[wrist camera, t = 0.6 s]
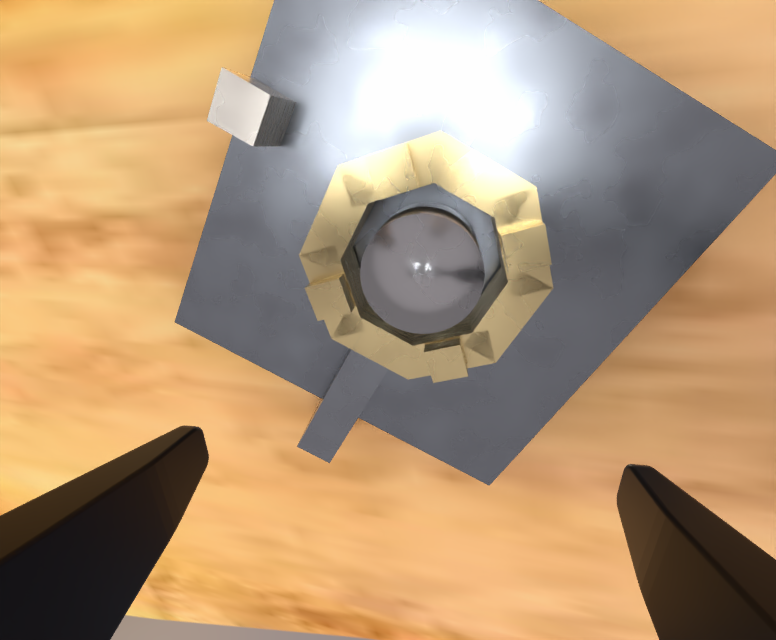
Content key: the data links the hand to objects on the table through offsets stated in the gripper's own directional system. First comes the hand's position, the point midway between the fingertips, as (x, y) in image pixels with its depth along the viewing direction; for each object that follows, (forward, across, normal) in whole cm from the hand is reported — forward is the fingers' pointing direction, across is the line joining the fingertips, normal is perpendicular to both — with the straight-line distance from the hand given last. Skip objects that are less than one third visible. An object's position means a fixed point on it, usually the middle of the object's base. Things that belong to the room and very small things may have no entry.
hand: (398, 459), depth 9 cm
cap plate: (+14, 0, -1) cm, 14 cm away
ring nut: (+12, +2, +2) cm, 13 cm away
